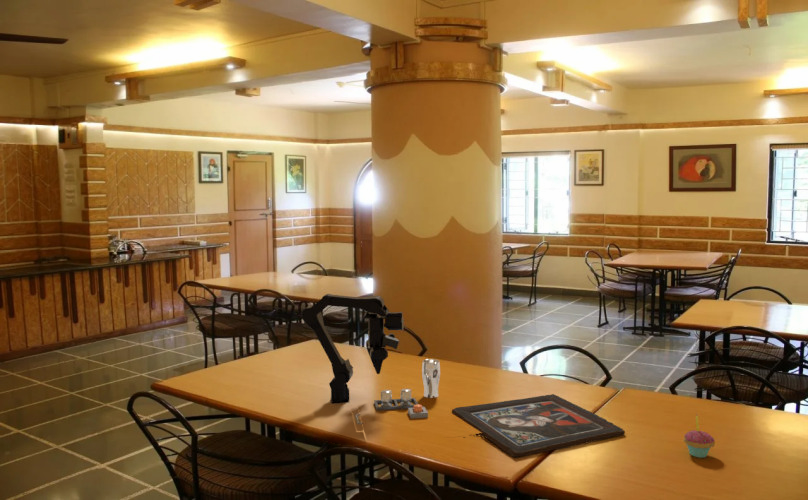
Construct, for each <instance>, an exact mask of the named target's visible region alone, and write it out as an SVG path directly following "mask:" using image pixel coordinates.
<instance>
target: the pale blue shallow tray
mask: <svg viewBox="0 0 808 500" xmlns="http://www.w3.org/2000/svg"><path fill="white" fill-rule="evenodd" d="M354 414H355V413H354ZM354 416H355V419H356V420H355V421H356V423H357V425H363V424H364V423H363V422H360V421H359V418H358V416H361V414H360V413H356V414H355V415H354Z"/></svg>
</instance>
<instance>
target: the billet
mask: <svg viewBox="0 0 808 500" xmlns="http://www.w3.org/2000/svg"><path fill="white" fill-rule="evenodd" d="M392 399H393V392H392V390H390V389H382V390H381V391H380V400H381V404H380V407H384V406H393V403H392Z"/></svg>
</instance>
